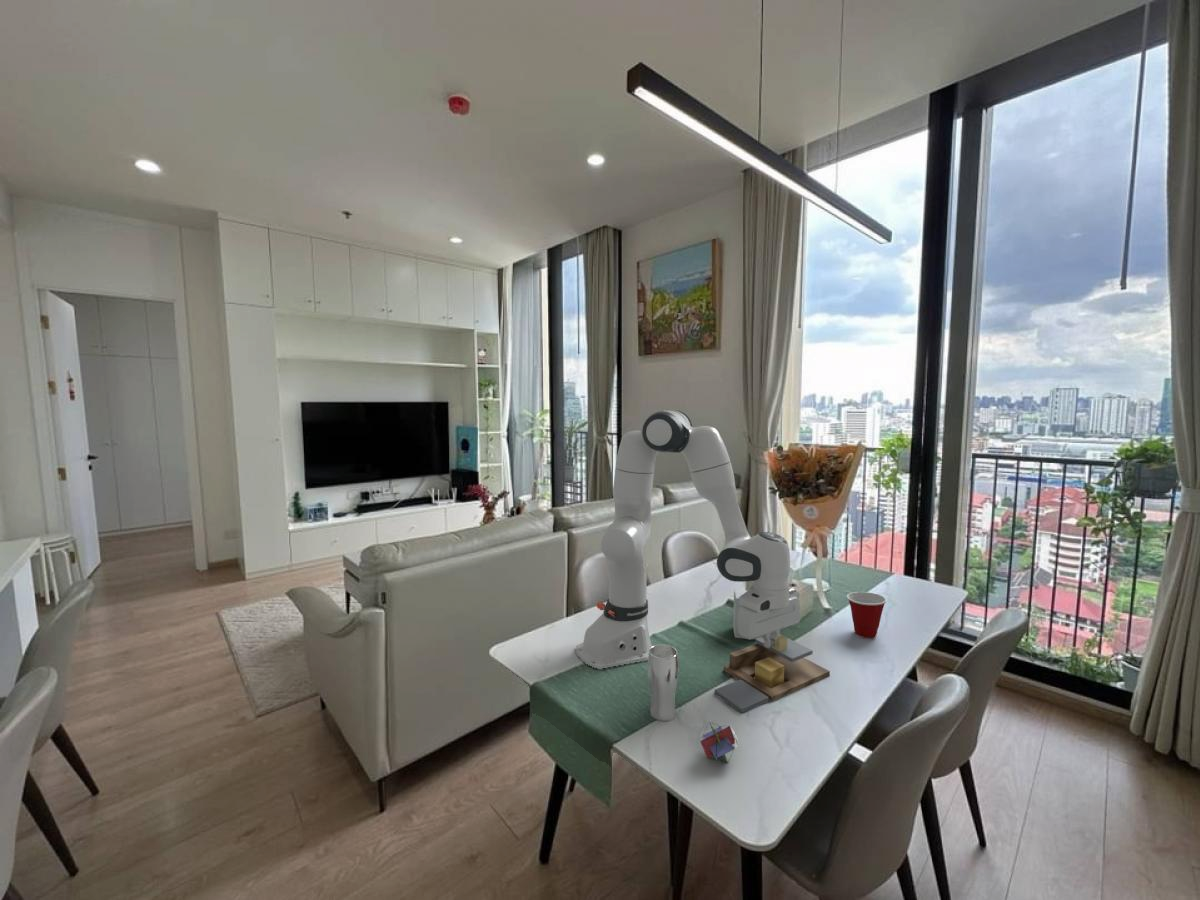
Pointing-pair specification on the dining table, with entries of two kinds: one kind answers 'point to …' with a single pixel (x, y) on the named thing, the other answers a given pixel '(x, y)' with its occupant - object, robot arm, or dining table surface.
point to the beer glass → (663, 681)
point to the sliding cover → (787, 648)
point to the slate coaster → (741, 696)
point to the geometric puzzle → (719, 742)
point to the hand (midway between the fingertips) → (769, 645)
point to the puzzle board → (794, 672)
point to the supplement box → (736, 610)
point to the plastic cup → (866, 612)
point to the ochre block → (769, 672)
